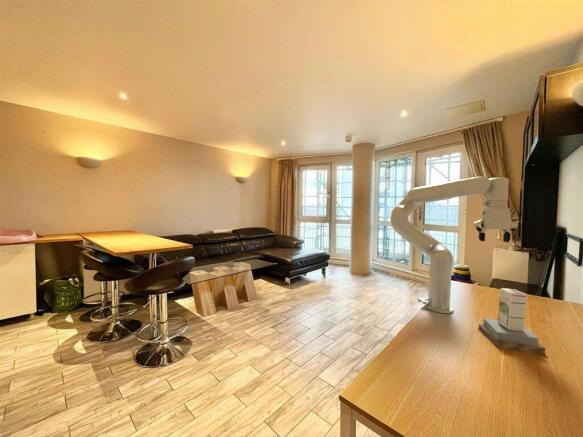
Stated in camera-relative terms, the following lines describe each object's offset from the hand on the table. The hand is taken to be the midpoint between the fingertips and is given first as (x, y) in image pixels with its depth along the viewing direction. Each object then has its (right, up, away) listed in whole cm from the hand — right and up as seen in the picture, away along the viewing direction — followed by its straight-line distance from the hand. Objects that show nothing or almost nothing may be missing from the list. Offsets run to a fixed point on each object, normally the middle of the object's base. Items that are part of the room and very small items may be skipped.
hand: (494, 241), depth 110 cm
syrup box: (-9, -32, -18) cm, 38 cm away
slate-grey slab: (-9, -35, -17) cm, 40 cm away
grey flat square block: (-9, -38, -17) cm, 43 cm away
